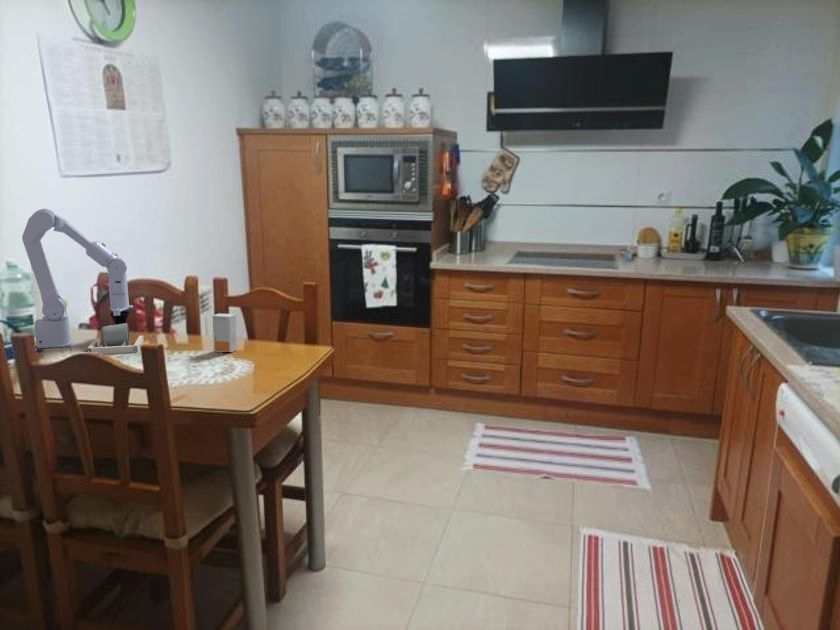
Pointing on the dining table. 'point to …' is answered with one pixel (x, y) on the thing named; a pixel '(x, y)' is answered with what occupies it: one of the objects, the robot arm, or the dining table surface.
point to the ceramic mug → (115, 335)
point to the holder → (115, 347)
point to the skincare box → (224, 332)
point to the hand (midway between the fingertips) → (122, 332)
